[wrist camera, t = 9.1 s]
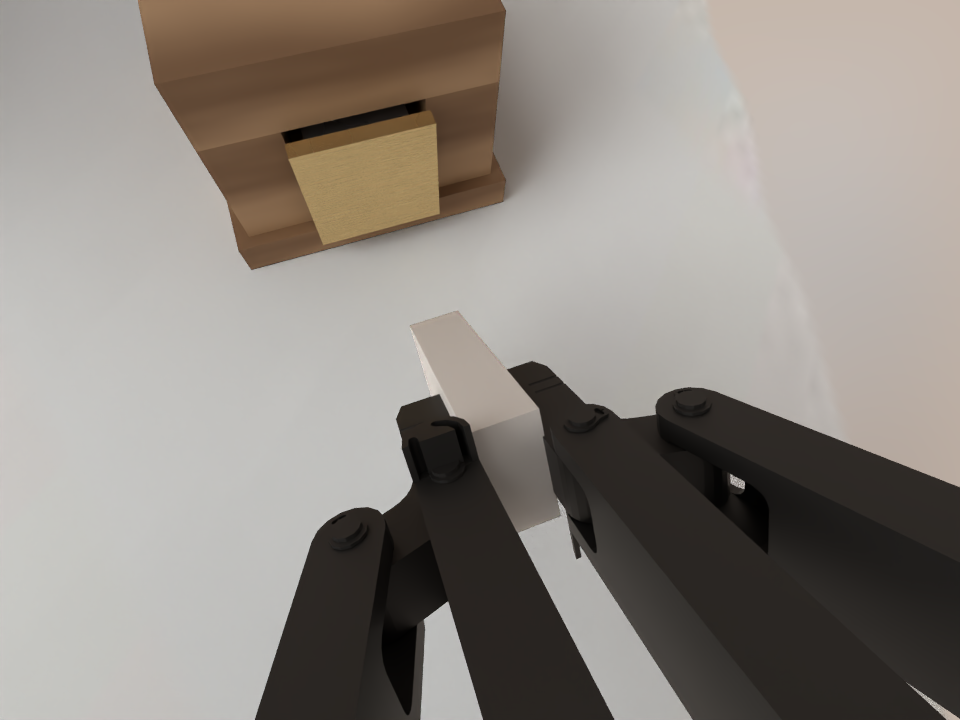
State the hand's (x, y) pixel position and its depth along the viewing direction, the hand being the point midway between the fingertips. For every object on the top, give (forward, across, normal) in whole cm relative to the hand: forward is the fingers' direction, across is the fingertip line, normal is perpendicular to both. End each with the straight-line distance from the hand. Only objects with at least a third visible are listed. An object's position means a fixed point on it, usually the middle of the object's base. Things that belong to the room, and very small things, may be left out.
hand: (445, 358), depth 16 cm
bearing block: (+13, 0, +7) cm, 15 cm away
